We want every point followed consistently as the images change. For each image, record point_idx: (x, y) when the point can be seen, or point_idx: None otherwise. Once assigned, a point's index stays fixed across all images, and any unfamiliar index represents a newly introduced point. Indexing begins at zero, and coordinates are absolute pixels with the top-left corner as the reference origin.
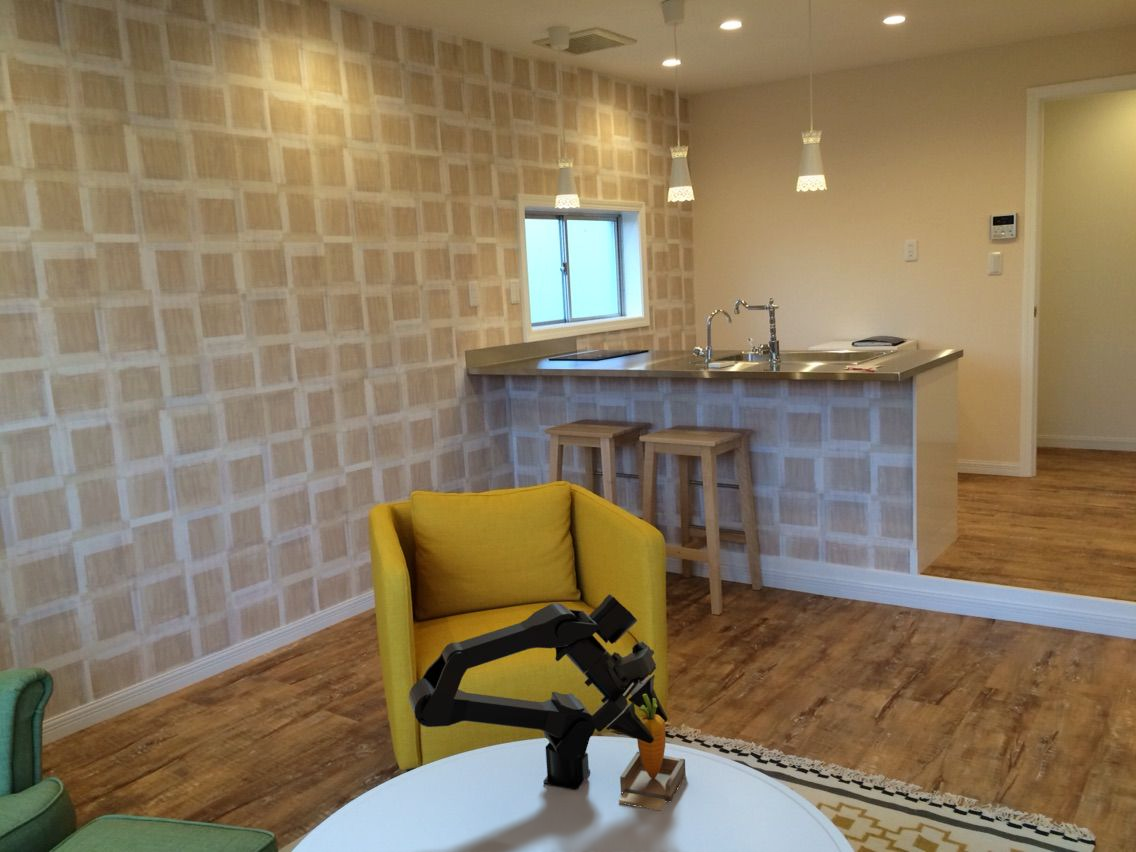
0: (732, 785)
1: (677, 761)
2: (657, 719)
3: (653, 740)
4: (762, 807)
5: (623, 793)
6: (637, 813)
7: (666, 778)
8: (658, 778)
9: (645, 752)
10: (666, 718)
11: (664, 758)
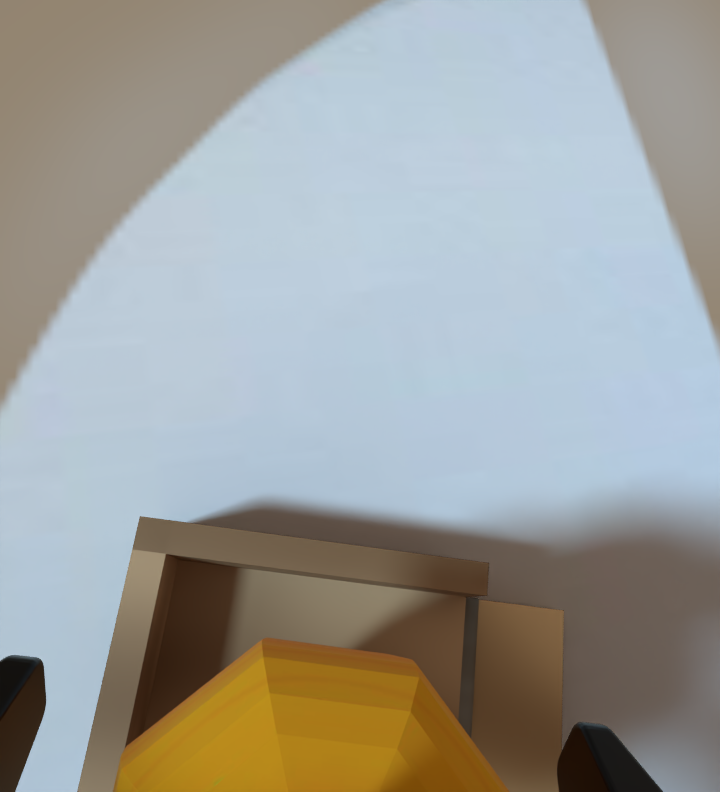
0: (238, 277)
1: (163, 568)
2: (365, 758)
3: (600, 727)
4: (402, 152)
5: None
6: None
7: (276, 630)
8: None
9: None
10: (27, 668)
11: (140, 672)
